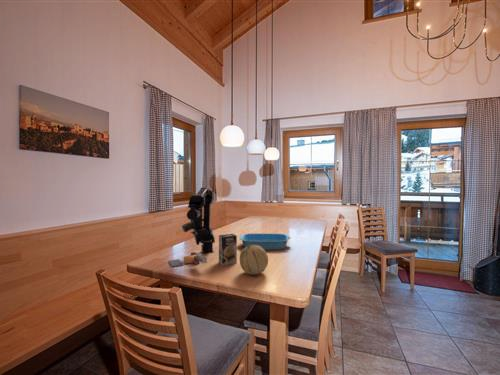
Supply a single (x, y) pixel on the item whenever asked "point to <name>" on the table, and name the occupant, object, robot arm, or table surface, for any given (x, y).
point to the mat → (176, 263)
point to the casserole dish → (265, 240)
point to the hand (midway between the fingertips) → (197, 244)
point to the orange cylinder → (189, 259)
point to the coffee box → (227, 249)
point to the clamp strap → (201, 258)
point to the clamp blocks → (195, 258)
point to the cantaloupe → (253, 259)
